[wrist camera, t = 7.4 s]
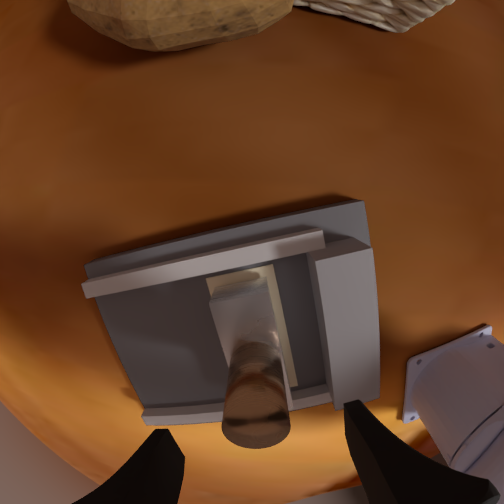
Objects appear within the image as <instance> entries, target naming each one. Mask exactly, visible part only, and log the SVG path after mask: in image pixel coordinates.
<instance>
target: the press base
mask: <svg viewBox="0 0 504 504" xmlns="http://www.w3.org/2000/svg"><path fill="white" fill-rule="evenodd" d="M84 267H85V270H86V273H87V277H88V280H87V281H85V282H83V283H82V284H81V285H82V288H83V291H84V294H85V297H86V299H87V298H92V297H95V300H96V302H97V305H98V308H99V310H100V313H101V316H102V318H103V321H104V323H105V326H106V328H107V331H108V333H109V335H110V338H111V340H112V342H113V345H114V347H115V349H116V352H117V354H118V356H119V358H120V360H121V363H122V365H123V367H124V369H125V371H126V373H127V375H128V377H129V379H130V381H131V383H132V385H133V387H134V389H135V391H136V393H137V395H138V397H139V399H140V401H141V402H142V404H143V406H144V408H145V409H144V411H143V414H142V416H141V417H142V419H143V420H144V422H145V424H146V425H184V424H200V423H212V422H222V419H223V411H224V403H225V396H226V388H227V380H228V373H229V367H228V364H227V361H226V358H225V355H224V352H223V348H222V345H221V342H220V339H219V336H218V333H217V329H216V326H215V323H214V319H213V316H212V313H211V309H210V306H209V302H210V299H211V297H212V294H213V291H214V288H215V287H218V286H223V285H228V284H233V283H237V282H242V281H247V280H252V279H256V278H261V277H266V278H267V282H268V287H269V291H270V296H271V300H272V305H273V309H274V314H275V318H276V323H277V327H278V332H279V336H280V341H281V346H282V350H283V355H284V359H285V364H286V369H287V373H288V378H289V383H290V388H291V394H292V400H293V406H294V409H293V410H288V411H294V410H299V409H304V408H309V407H313V406H317V405H322V404H326V403H330V402H333V405H334V408H335V411H337V410H340V409H344V406H343V403H346V402H350V401H354V400H357V399H359V400H361V401H362V403H365V402H368V401H372V400H375V399H378V398H380V338H379V316H378V300H377V288H376V277H375V267H374V257H373V249H372V247H371V245H370V238H369V231H368V224H367V217H366V211H365V205H364V201H363V200H357V199H354V200H349V201H344V202H339V203H334V204H329V205H324V206H319V207H314V208H310V209H305V210H300V211H295V212H291V213H286V214H281V215H277V216H272V217H267V218H263V219H258V220H254V221H249V222H245V223H240V224H236V225H232V226H227V227H223V228H219V229H214V230H210V231H206V232H201V233H197V234H193V235H189V236H185V237H181V238H176V239H172V240H168V241H164V242H160V243H156V244H152V245H148V246H144V247H140V248H136V249H132V250H129V251H125V252H121V253H117V254H113V255H109V256H106V257H102V258H98V259H94V260H92V261H90V262H89V263H87V264H85V265H84Z"/></svg>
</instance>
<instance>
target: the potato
mask: <svg viewBox="0 0 504 504" xmlns="http://www.w3.org/2000/svg"><path fill="white" fill-rule="evenodd" d="M67 2H68V4H69V7H70V9H71V12H72V13H73V14H74V15H76V16H77V17H78V18H80V19H81V20H82V21H84V22H85V23H86V24H88V25H89V26H90V27H92V28H93V29H94V30H96V31H97V32H98V33H101V34H103V35H105V36H107V37H110V38H112V39H114V40H116V41H118V42H120V43H122V44H125V45H127V46H129V47H131V48H135V49H142V50H147V51H153V52H158V51H179V50H183V49H188V48H192V47H197V46H201V45H207V44H213V43H220V42H227V41H232V40H236V39H239V38H243V37H247V36H251V35H255V34H258V33H260V32H261V31H263V30H264V29H266V28H267V27H269V26H271V25H272V24H274V23H275V22H277V21H279V20H280V19H282V18H283V17H284V16H286V15H287V14H288V13H289V12H291V9H292V6H293V3H294V0H67Z"/></svg>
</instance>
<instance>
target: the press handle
mask: <svg viewBox="0 0 504 504" xmlns="http://www.w3.org/2000/svg"><path fill="white" fill-rule="evenodd" d="M209 306H210V309H211V313H212V316H213V319H214V323H215V326H216V329H217V333H218V336H219V339H220V342H221V345H222V348H223V352H224V355H225V358H226V361H227V364H228V367H229V373H228V380H227V388H226V396H225V403H224V411H223V419H222V432H223V434H224V436H225V437H226V438H227V439H228V440H229V441H231V442H232V443H234V444H236V445H238V446H241V447H245V448H251V449H260V448H267V447H271V446H273V445H276V444H278V443H280V442H281V441H282V440H284V439H285V438H286V437H287V435H288V434H289V432H290V427H291V426H290V418H289V411H288V410H293V409H294V406H293V400H292V394H291V388H290V383H289V378H288V373H287V369H286V364H285V359H284V355H283V350H282V346H281V341H280V336H279V332H278V327H277V323H276V318H275V314H274V309H273V305H272V300H271V296H270V291H269V287H268V282H267V278H266V277H261V278H256V279H252V280H247V281H242V282H237V283H233V284H228V285H223V286H218V287H215V288H214V291H213V294H212V297H211V299H210V302H209Z"/></svg>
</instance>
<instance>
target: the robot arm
mask: <svg viewBox="0 0 504 504" xmlns="http://www.w3.org/2000/svg"><path fill="white" fill-rule="evenodd" d="M491 332H492V327H491V326H490V325H486V326H484V327H482V328H480V329H478V330H476V331H474V332H472V333H470V334H467V335H465V336H463V337H461V338H458V339H456V340H454V341H451V342H449V343H447V344H444V345H442V346H440V347H437V348H435V349H432V350H430V351H427V352H424V353H422V354H419V355H416V356H414V357H411V358H410V359H409V360H408V362H407V372H406V385H405V396H404V406H403V415H402V421H403V423H409V422H411V421H414V420H416V419H419V418H420V419H421V420H422V422H423V424H424V425H425V427H426V428H427V430H428V432H429V433H430V435H431V437H432V438H433V440H434V442H435V443H436V445H437V447H438V448H439V450H440V452H441V453H442V455H443V457H444V458H445V460H446V462H447V464H448V465H449V467H450V468H449V467H447V466H444V465H442V464H440V463H438V462H435V461H433V460H431V459H430V458H428V457H426V456H424V455H423V454H421V453H419V452H418V451H416V450H415V449H413V448H412V447H410V446H409V445H407V444H406V443H405V442H403V441H402V440H401V439H399V438H398V437H397V436H396V435H394V434H393V433H392V432H391V431H390V430H389V429H388V428H386V427H385V426H384V425H383V424H382V423H381V422H380V421H379V420H378V419H377V418H376V417H375V416H374V415H373V414H372V413H371V412H370V411H369V410H368V409H367V407H366V406H365V405H364V404H363V403H362V401H361V400H359V399H357V400H354V401H350V402H346V403H343V406H344V422H345V436H346V440H347V444H348V447H349V451H350V455H351V457H352V460H353V462H354V465H355V467H356V470H357V472H358V475H359V477H360V480H361V482H362V485H363V487H364V489H365V492H366V495H367V497H368V500H369V504H504V345H503V344H502V343H501V342H499V341H498V340H497V339H496V338H494V337H493V336H492V335H491ZM480 333H481V334H480ZM419 359H420V360H419ZM418 360H419V361H418ZM417 361H418V362H417ZM184 464H185V456H184V455H183V453H182V451H181V450H180V448H179V447H178V445H177V443H176V442H175V440H174V438H173V436H172V435H171V433H170V431H169V430H168V429H155V430H154V431H153V432H152V433H151V434H150V436H149V437H148V438H147V439H146V440H145V441H144V443H143V444H142V445H141V446H140V447H139V448H138V450H137V451H136V452H135V453H134V454H133V455H132V456H131V457H130V459H129V460H128V461H127V462H126V463H125V464H124V465H123V466H122V467H121V468H120V469H119V470H118V471H117V472H116V473H115V474H114V475H113V476H111V477H110V478H109V479H108V480H107V481H106V482H104V483H103V484H102V485H101V486H99V487H98V488H97V489H95V490H94V491H92V492H91V493H89V494H88V495H86V496H84V497H83V498H81V499H79V500H78V501H76V502H74V503H72V504H177V503H178V499H179V494H180V490H181V486H182V481H183V476H184Z"/></svg>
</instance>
